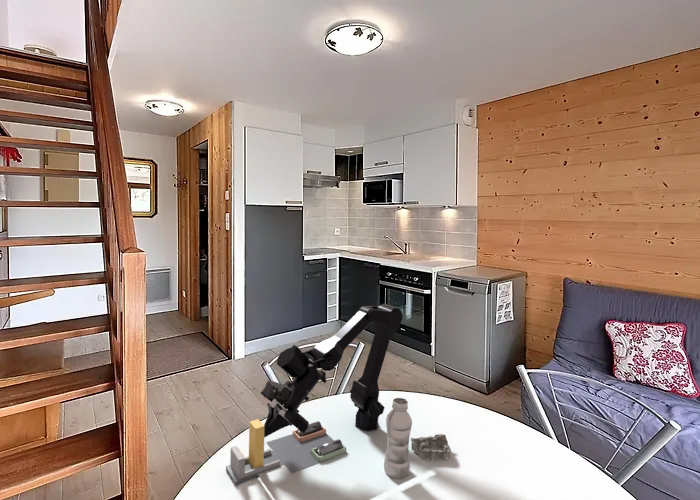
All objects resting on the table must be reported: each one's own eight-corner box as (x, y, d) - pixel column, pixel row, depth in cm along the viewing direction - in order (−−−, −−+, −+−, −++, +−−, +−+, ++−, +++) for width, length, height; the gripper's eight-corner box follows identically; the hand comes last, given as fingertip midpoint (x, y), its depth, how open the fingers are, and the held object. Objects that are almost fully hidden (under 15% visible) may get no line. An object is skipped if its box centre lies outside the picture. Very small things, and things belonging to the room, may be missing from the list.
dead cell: (317, 429, 122) (316, 420, 123) (321, 432, 120) (321, 422, 120) (296, 436, 118) (296, 426, 118) (301, 438, 116) (300, 429, 116)
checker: (317, 428, 124) (318, 410, 123) (347, 455, 111) (347, 435, 111) (220, 460, 107) (220, 439, 106) (241, 496, 94) (242, 472, 93)
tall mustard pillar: (257, 458, 106) (258, 419, 105) (263, 466, 103) (264, 426, 102) (248, 461, 105) (249, 421, 104) (254, 469, 102) (255, 428, 101)
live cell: (336, 445, 114) (337, 437, 113) (341, 452, 111) (343, 443, 111) (314, 453, 110) (316, 444, 109) (320, 460, 107) (321, 451, 107)
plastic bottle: (408, 485, 100) (413, 409, 98) (381, 480, 101) (385, 405, 99) (410, 469, 106) (414, 397, 104) (384, 465, 108) (388, 393, 106)
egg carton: (446, 446, 118) (447, 433, 118) (451, 462, 111) (453, 448, 110) (409, 444, 118) (410, 431, 118) (413, 460, 111) (414, 446, 110)
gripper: (268, 358, 113) (228, 405, 108) (299, 383, 98) (255, 439, 93) (292, 379, 118) (255, 425, 113) (325, 406, 103) (285, 460, 98)
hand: (262, 436), depth 104 cm, fingers closed, pressing on tall mustard pillar
